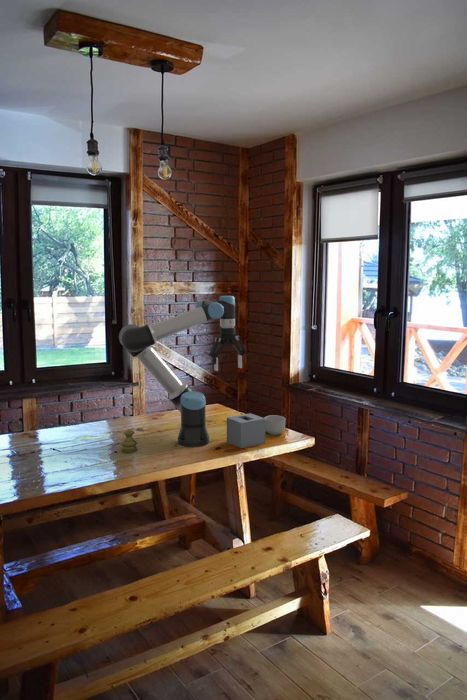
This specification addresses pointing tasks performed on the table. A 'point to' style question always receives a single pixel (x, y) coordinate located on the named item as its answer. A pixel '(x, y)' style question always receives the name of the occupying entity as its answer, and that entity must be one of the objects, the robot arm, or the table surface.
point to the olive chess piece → (129, 442)
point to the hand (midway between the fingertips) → (228, 369)
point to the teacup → (274, 424)
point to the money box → (245, 430)
